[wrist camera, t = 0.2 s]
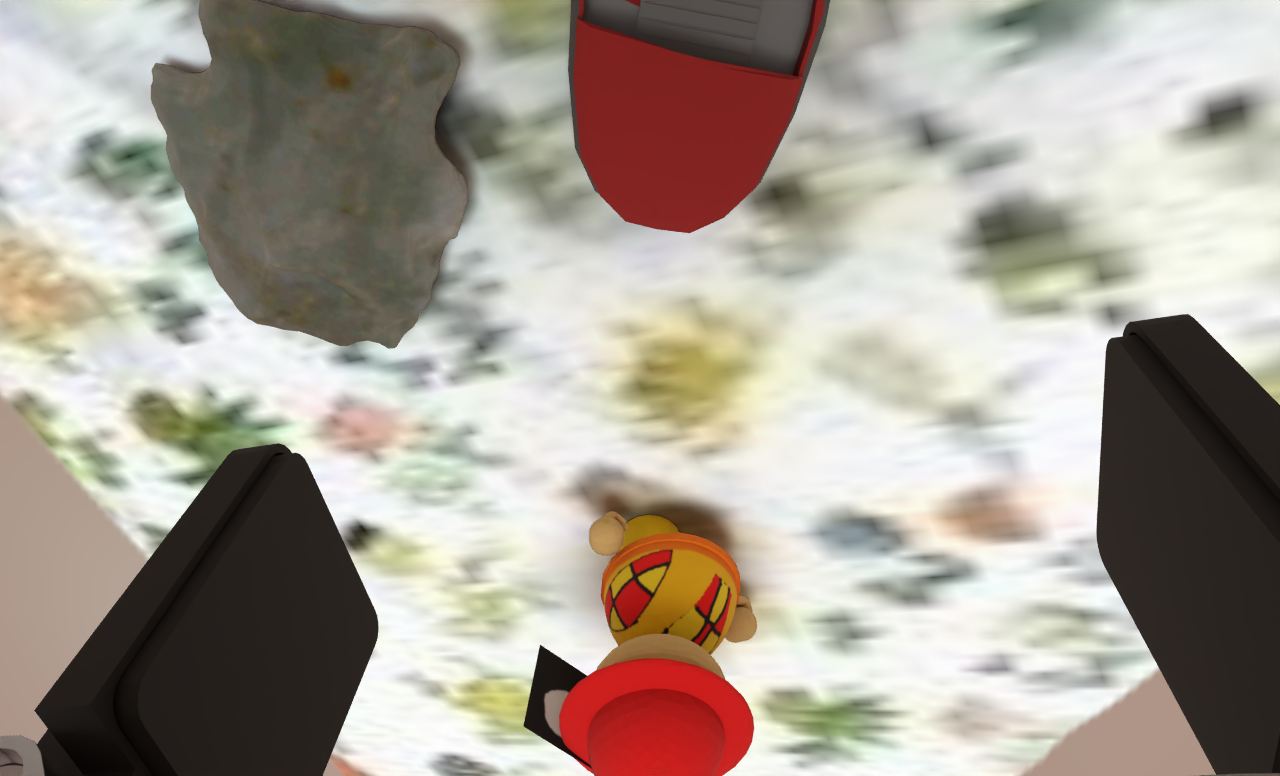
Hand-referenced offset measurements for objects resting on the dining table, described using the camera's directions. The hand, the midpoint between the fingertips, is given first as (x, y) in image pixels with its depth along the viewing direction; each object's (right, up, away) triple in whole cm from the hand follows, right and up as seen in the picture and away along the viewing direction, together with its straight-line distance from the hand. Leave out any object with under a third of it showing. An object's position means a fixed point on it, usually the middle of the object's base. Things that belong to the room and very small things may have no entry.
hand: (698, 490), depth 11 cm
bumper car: (+2, +18, +26) cm, 32 cm away
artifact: (-15, +11, +31) cm, 36 cm away
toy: (+1, -8, +41) cm, 42 cm away
